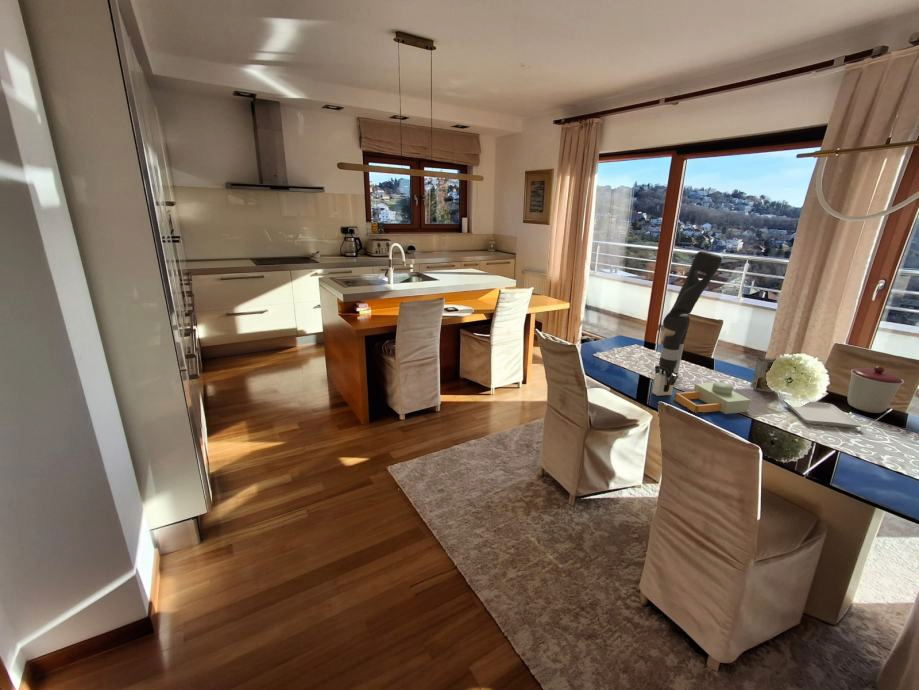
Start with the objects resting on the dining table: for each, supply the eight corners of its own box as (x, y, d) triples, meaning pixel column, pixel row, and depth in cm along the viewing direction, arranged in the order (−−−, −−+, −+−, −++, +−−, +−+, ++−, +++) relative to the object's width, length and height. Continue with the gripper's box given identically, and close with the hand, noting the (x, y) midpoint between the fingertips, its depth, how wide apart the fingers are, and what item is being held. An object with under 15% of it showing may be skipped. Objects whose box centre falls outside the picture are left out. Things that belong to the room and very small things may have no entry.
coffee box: (770, 387, 221) (778, 358, 216) (775, 392, 215) (783, 362, 210) (750, 385, 223) (757, 356, 218) (754, 390, 217) (762, 360, 212)
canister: (886, 406, 203) (902, 365, 197) (895, 421, 189) (913, 377, 182) (837, 396, 213) (851, 356, 206) (842, 409, 199) (857, 367, 192)
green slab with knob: (669, 397, 207) (673, 379, 204) (713, 393, 213) (717, 376, 210) (700, 416, 189) (704, 397, 186) (747, 411, 194) (752, 393, 191)
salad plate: (860, 432, 180) (863, 425, 178) (803, 426, 183) (806, 419, 182) (829, 409, 199) (832, 403, 198) (779, 404, 203) (781, 398, 202)
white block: (652, 392, 210) (655, 373, 207) (666, 391, 212) (669, 372, 209) (657, 395, 207) (661, 376, 204) (671, 394, 209) (675, 375, 205)
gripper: (652, 352, 209) (646, 384, 215) (672, 362, 196) (665, 396, 201) (665, 351, 211) (659, 383, 216) (686, 361, 198) (679, 395, 203)
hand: (662, 389), depth 209 cm, fingers closed on white block, 4 cm apart
